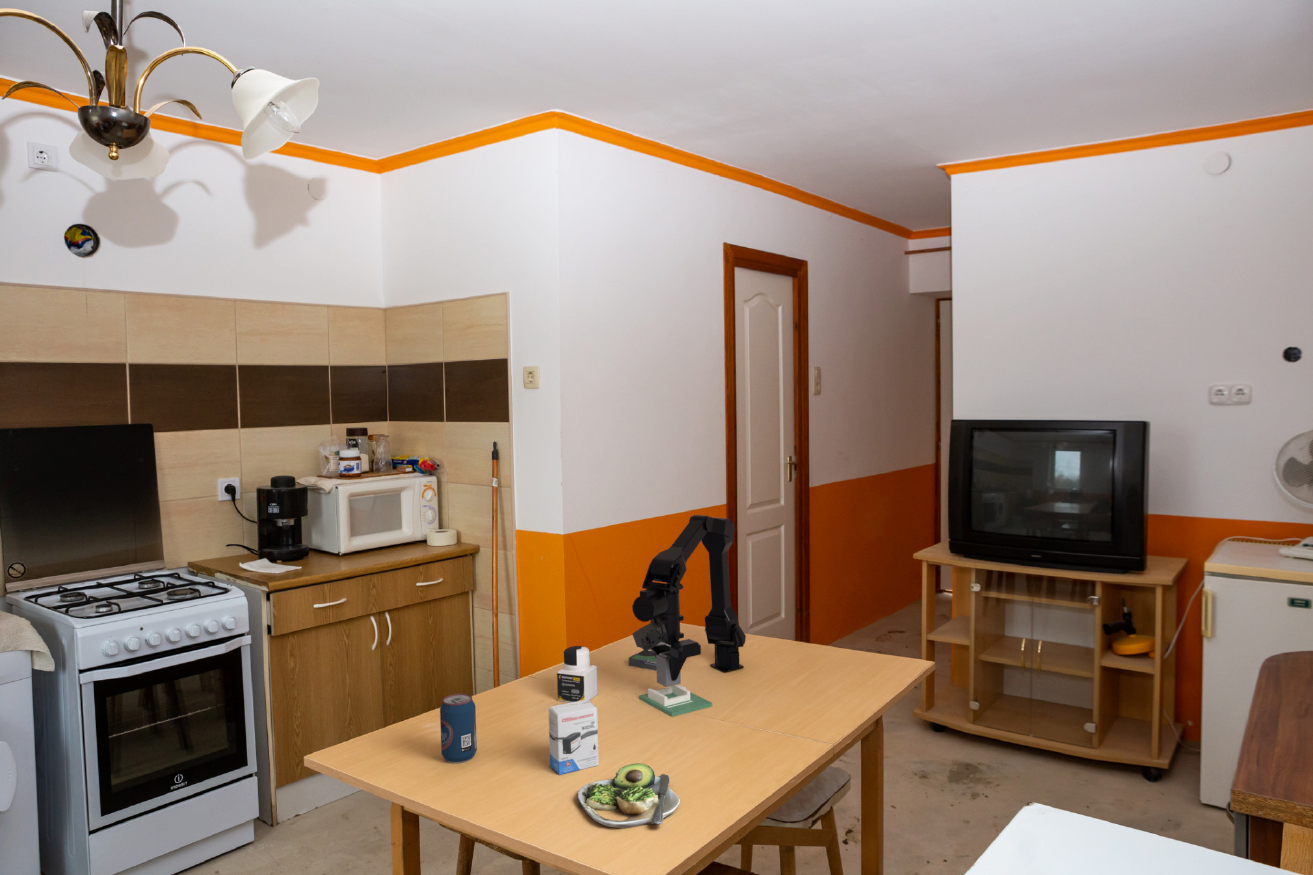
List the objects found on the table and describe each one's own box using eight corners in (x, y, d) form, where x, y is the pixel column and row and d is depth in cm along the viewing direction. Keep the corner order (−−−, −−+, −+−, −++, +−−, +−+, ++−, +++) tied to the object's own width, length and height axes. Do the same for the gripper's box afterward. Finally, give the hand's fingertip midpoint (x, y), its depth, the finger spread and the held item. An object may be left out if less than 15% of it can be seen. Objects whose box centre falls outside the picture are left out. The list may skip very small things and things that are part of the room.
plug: (656, 682, 204) (656, 653, 204) (672, 678, 207) (672, 649, 206) (666, 687, 201) (665, 657, 201) (682, 683, 203) (681, 653, 203)
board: (639, 698, 207) (638, 686, 206) (677, 688, 213) (677, 677, 212) (672, 716, 195) (671, 704, 195) (712, 706, 201) (711, 694, 201)
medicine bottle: (557, 701, 206) (555, 650, 205) (571, 691, 213) (570, 642, 212) (584, 704, 203) (583, 653, 203) (597, 694, 210) (596, 645, 209)
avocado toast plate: (703, 823, 148) (703, 797, 147) (602, 845, 141) (601, 817, 141) (661, 777, 166) (661, 753, 165) (569, 794, 159) (569, 769, 159)
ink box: (558, 775, 166) (556, 714, 166) (549, 765, 171) (547, 706, 170) (599, 765, 170) (598, 706, 170) (589, 756, 175) (588, 698, 174)
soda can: (436, 756, 176) (433, 697, 176) (467, 747, 180) (465, 689, 180) (450, 767, 171) (448, 707, 170) (483, 758, 175) (481, 699, 174)
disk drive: (656, 652, 244) (628, 667, 231) (656, 642, 244) (627, 656, 231) (689, 657, 239) (662, 673, 226) (689, 647, 239) (661, 662, 226)
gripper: (616, 608, 206) (618, 673, 207) (660, 626, 191) (661, 696, 192) (656, 601, 212) (658, 664, 213) (701, 617, 197) (703, 686, 198)
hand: (668, 677), depth 204 cm, fingers closed on plug, 4 cm apart
